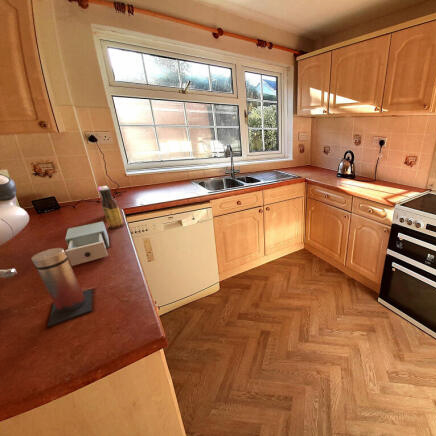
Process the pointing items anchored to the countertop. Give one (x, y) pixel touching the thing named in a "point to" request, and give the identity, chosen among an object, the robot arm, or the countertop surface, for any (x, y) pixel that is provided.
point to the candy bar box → (99, 190)
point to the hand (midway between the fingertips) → (6, 281)
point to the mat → (61, 317)
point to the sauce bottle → (111, 209)
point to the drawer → (86, 249)
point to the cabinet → (87, 232)
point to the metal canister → (59, 279)
